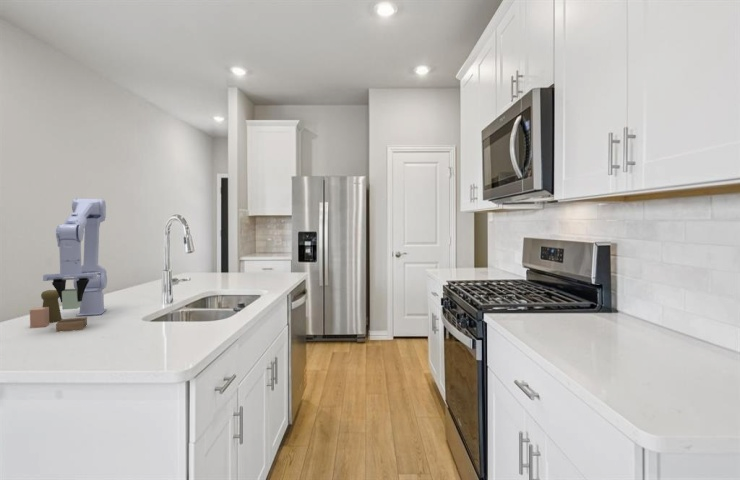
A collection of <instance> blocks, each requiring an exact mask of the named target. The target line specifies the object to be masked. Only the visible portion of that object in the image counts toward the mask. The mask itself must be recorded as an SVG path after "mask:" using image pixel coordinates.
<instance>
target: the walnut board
mask: <svg viewBox="0 0 740 480" xmlns="http://www.w3.org/2000/svg"><path fill="white" fill-rule="evenodd" d="M86 325H87V326H88V317H87V316H86V317H83V316H81V317H71V318H70V317H69V318H62V319H61V320H60V321H59V322H56V324H55V328H56V329H55V331H56V333H61V332H60V331H63V332H72V331H73V330H75V331H83V330H84V329H85V328H86V327H87V326H86ZM73 332H74V331H73Z"/></svg>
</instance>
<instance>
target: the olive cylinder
mask: <svg viewBox="0 0 740 480" xmlns="http://www.w3.org/2000/svg"><path fill="white" fill-rule="evenodd" d="M40 297H41V299H42V307H49V324H52V323H58V322H59V321H60V320H61V319H63V318H62V313H61V307H60V303H59V299H60V297H59V294H58V292H57V290H56V289H49V290H44V291H42V292H41V296H40Z"/></svg>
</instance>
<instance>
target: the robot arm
mask: <svg viewBox="0 0 740 480" xmlns="http://www.w3.org/2000/svg"><path fill="white" fill-rule="evenodd" d="M71 209H72V213H70V214H69V215H68V216H67V218H66V219H65V221H64V223H63V224H59V225H57V226H56V229H55V238H56V243H57V247H58V248H59V273H51V274H50V273H49V274H43V276H42V278H43V279H42V281H43V282H47V281H51V284H52V286H53V287H54V290H57V292H58V294H59V299H60V300H59V301H60V303H61V304H62V291H63V290H65V289H66V285H67V284H66V283H67V281H70V280H73V287H74V288H73V289H78V302H80V301H81V306H80V307H79V312H78V313H77V314H76V315H75V316H76V317H83V316H86V317H87V316H97V315H98V316H99V315H102V314H103V313H105V312H106V311H107V310H108V309H107V308H104V307H105V304H104V303H105V302H104V298H105V296H104V295H105V294H104V292H103V290H104V289H105V288H107V285H108V276H107V270H106V268H104V267H103V266H101V265H99V248H100V246H99V245H100V227H101V223H103V222H105V220H106V216H107V212H106V211H107V206H106V201H105V200H104V198H78V197H75V198H73V199H72V202H71ZM83 239H84V240H83ZM82 241H84V243H83V265H82Z"/></svg>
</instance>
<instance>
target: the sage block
mask: <svg viewBox="0 0 740 480" xmlns="http://www.w3.org/2000/svg"><path fill="white" fill-rule="evenodd" d="M61 304H62V305H61V308H62V310H63V311H64V310H76V309H80V306H81V301H80V302H78V289H75V288H65V290H63V291H62V303H61Z"/></svg>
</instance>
